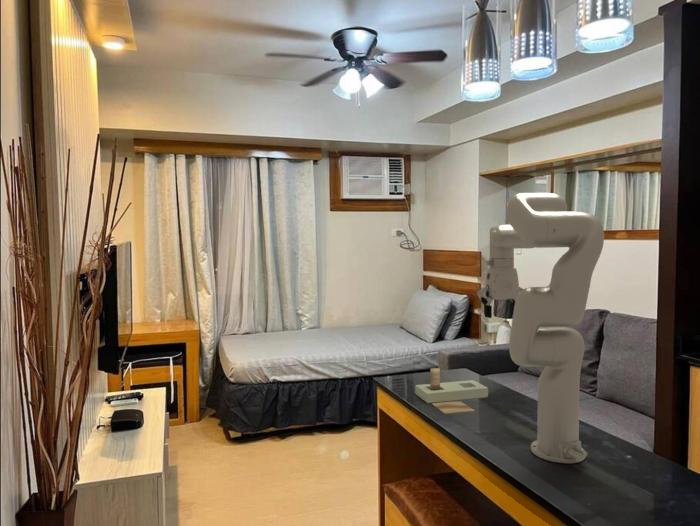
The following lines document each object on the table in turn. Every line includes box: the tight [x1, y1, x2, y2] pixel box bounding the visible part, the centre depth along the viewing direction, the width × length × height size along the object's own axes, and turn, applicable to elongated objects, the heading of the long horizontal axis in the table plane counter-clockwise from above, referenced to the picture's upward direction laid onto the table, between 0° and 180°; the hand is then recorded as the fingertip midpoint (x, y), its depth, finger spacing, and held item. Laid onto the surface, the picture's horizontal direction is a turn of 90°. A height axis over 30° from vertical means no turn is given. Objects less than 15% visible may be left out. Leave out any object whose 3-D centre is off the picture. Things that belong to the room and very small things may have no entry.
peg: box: [429, 367, 441, 391], centre depth 168 cm, size 3×3×10 cm
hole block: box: [414, 379, 489, 404], centre depth 170 cm, size 10×22×4 cm, turn 105°
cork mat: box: [431, 400, 476, 415], centre depth 158 cm, size 10×10×1 cm
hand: (501, 316), depth 162 cm, fingers open, 9 cm apart
